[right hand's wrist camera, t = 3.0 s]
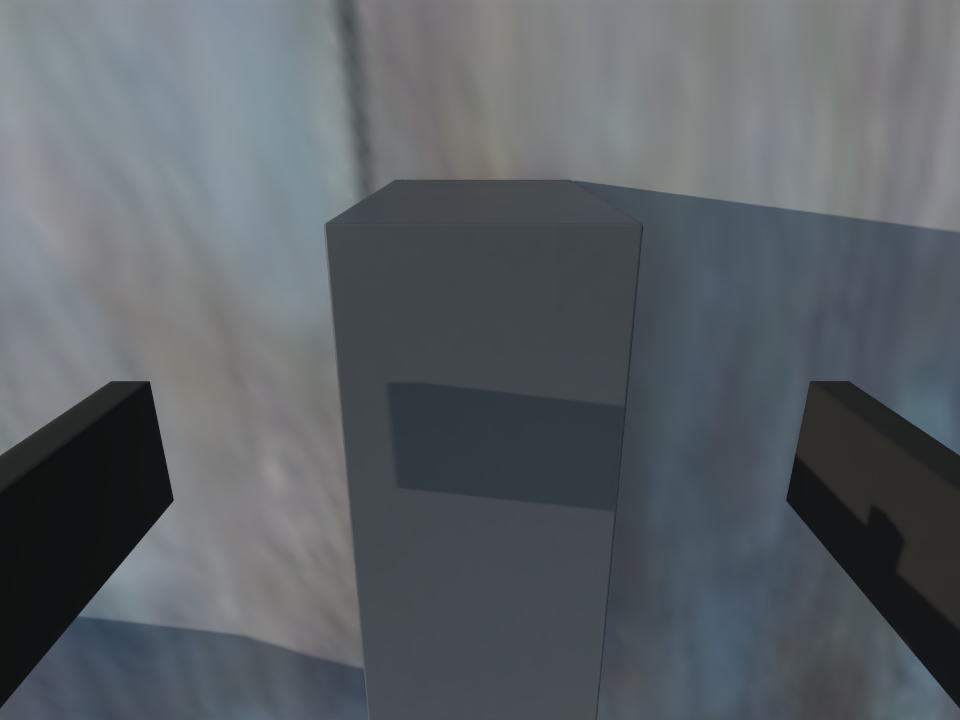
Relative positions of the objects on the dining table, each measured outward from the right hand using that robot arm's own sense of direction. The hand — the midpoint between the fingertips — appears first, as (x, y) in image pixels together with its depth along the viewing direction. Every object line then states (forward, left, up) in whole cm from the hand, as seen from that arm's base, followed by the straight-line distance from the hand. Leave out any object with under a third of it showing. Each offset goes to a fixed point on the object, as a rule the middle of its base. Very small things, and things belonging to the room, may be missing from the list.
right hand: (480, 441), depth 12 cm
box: (+4, +7, -12) cm, 15 cm away
